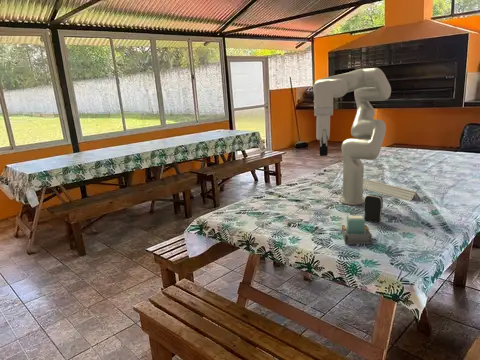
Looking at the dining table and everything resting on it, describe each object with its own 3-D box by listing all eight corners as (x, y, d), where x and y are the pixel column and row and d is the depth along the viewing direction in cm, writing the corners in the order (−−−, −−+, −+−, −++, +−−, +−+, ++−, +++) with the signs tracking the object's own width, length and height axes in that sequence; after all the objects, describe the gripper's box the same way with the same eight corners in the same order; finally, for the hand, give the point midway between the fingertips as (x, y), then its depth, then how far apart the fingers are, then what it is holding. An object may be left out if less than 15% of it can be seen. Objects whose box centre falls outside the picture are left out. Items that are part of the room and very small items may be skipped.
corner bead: (420, 199, 176) (421, 189, 174) (409, 203, 172) (410, 193, 170) (370, 185, 202) (370, 177, 200) (359, 188, 198) (359, 180, 196)
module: (346, 232, 142) (347, 214, 139) (362, 232, 141) (362, 214, 139) (348, 236, 137) (348, 219, 135) (364, 237, 136) (364, 219, 134)
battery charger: (383, 220, 152) (384, 195, 149) (379, 223, 149) (380, 197, 146) (367, 217, 157) (368, 192, 154) (363, 220, 154) (364, 195, 151)
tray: (341, 232, 143) (341, 224, 142) (366, 232, 142) (366, 224, 140) (345, 243, 134) (345, 234, 133) (371, 244, 132) (371, 234, 131)
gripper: (313, 110, 152) (313, 152, 157) (315, 113, 138) (315, 159, 143) (331, 109, 151) (330, 151, 156) (334, 112, 137) (334, 159, 142)
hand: (323, 155), depth 149 cm, fingers closed
